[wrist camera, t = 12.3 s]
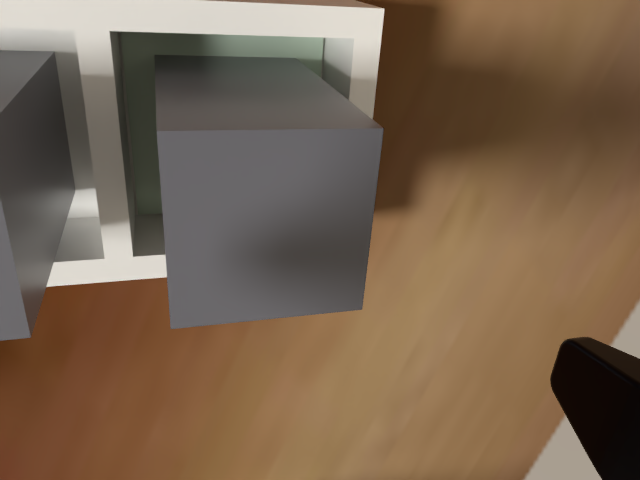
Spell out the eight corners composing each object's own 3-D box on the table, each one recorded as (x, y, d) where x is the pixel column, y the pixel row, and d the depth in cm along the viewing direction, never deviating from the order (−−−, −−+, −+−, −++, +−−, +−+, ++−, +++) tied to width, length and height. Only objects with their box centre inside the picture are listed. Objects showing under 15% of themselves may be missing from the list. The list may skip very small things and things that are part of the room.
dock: (329, 218, 22) (357, 261, 19) (-122, 244, 18) (-176, 304, 15) (346, -3, 18) (384, 8, 15) (-216, -31, 14) (-312, -24, 11)
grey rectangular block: (290, 184, 20) (362, 309, 13) (163, 189, 19) (170, 328, 12) (295, 57, 18) (384, 128, 11) (154, 54, 17) (156, 131, 10)
